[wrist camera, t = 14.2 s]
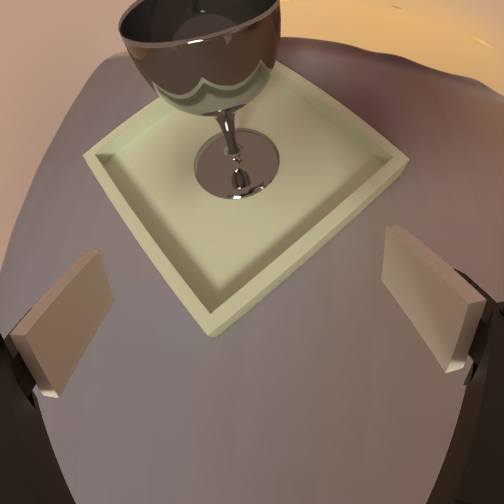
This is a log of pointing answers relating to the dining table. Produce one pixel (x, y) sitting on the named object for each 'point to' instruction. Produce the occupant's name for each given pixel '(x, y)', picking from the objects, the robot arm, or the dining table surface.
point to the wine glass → (212, 78)
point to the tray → (245, 209)
